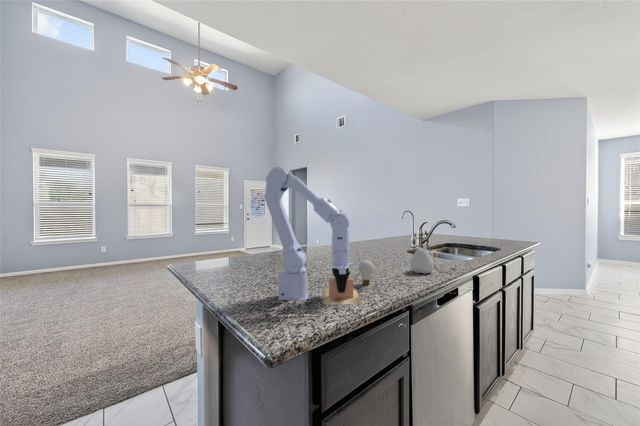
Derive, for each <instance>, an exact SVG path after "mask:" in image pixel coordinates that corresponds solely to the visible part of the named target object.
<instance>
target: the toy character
mask: <svg viewBox="0 0 640 426" xmlns="http://www.w3.org/2000/svg"><path fill="white" fill-rule="evenodd" d="M434 268H435V264H434V260H433V259H432V256H431V254H430V252H429V251H428V249H427V248H426V246H423V248H421V247H420V246H418V247H417V248H416V250H415V251H414V254H413V256H412V257H411V260H410V269H411V271H413V272H414V273H416V274H419V273H423V275H426V273H428V274H430V273H432V272H433V271H434Z"/></svg>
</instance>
